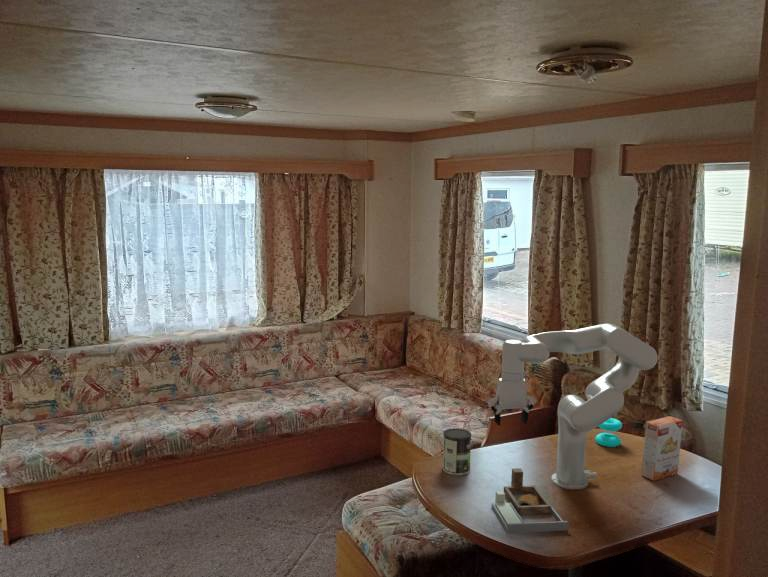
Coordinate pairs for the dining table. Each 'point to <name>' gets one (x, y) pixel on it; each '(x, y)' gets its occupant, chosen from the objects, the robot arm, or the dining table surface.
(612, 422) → the donuts
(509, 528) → the lane guide
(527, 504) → the pastry
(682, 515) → the dining table surface
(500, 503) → the sage strip
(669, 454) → the cracker box
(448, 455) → the coffee can
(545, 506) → the frame
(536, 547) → the dining table surface
